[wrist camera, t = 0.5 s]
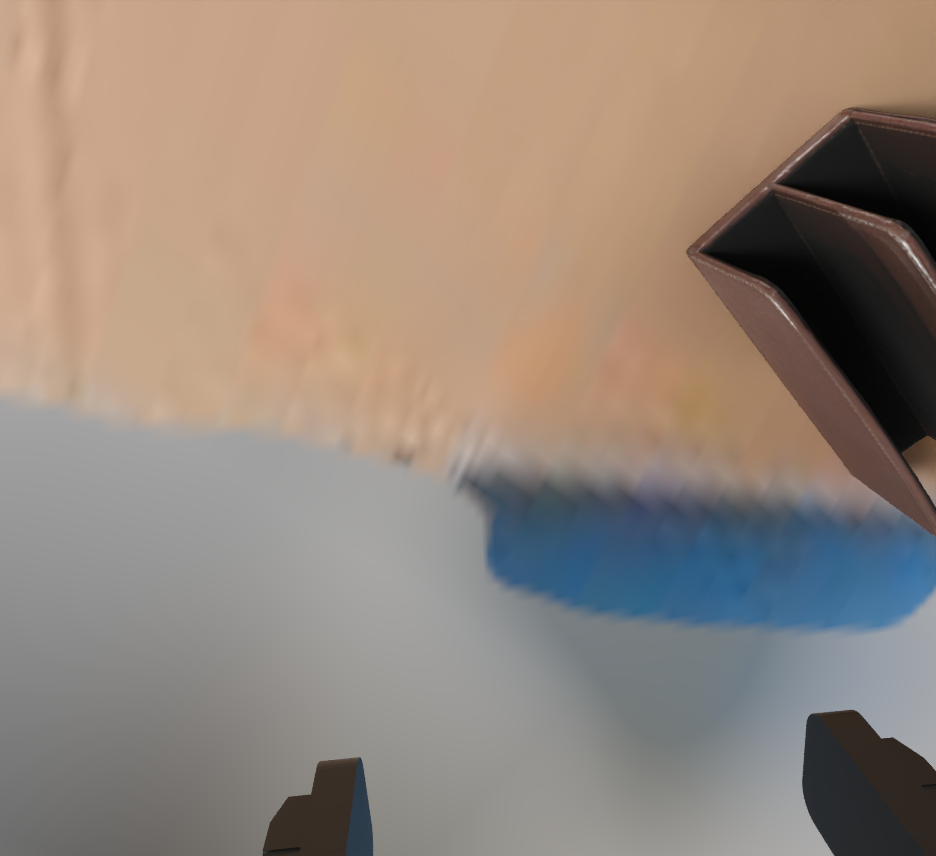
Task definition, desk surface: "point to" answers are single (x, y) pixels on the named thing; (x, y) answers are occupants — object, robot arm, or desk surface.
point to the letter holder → (845, 290)
